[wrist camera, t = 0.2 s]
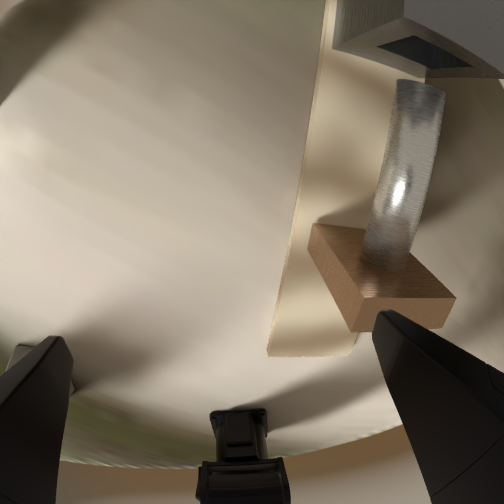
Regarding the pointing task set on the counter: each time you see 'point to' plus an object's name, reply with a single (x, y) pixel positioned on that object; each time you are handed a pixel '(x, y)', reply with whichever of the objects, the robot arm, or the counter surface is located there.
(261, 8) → the counter surface
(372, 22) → the bearing block
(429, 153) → the wooden block with shaft
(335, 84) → the birch base plate
